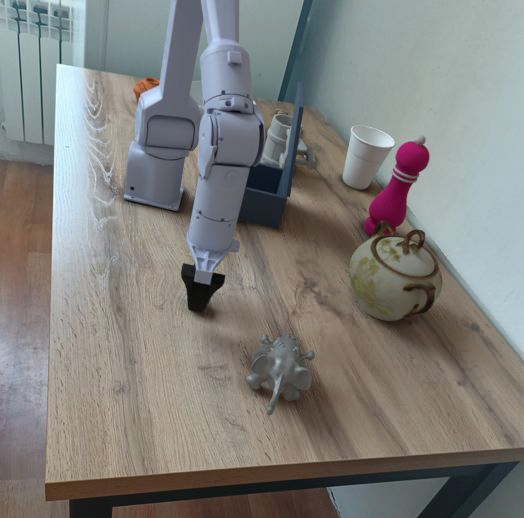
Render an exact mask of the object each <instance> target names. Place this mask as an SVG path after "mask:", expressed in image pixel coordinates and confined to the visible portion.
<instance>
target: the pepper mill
mask: <svg viewBox="0 0 524 518" xmlns="http://www.w3.org/2000/svg"><path fill="white" fill-rule="evenodd" d="M426 139H427V138H426V137H425V136H424V135H423V134H419V135H417V136H416V137H415V139H414V140H410V141H406V142H404V143H403V144H401V145H399V147H398V148H397V150H396V153H395V156H394V157H395V163H394V164H393V166H392V169H391V172H390V174H391V177H390V180H389V182H388V184H387V185H386V187H384V188H383V190H382V191H381V192H379V194H377V195H376V196H375V197H374V198H373V200H372V201H371V203H370V204H369V207H368V215H369V216H367V218H366V219H365V221H364V224H363V229H364V232H366V234H368V236H370V237H372V236H373V230H374V228H375V226H376V224H377V223H378V222H380V221H386V222H387V223H388V224H389V225H390V227H391V228H392V229H393V230H394V231H395V232H396V233H397V227H399V226H401V225H403V223H404V221H405V219H406V216H407V211H408V208H407V207H408V206H407V205H408V203H407V202H408V194H409V192H410V189H411V187H412V186H413V184H414V183H417V182H418V178H419V177H420V172H423V171H424V170H425V169H426V168H427V167H428V165H429V162H430V157H431V156H430V155H431V154H430V151H429V149H428V148H427V147H426V146H425V145H424V144H425V143H426V141H427V140H426ZM380 230H381V229H380ZM383 235H390V233H389V232H388V230H386V231H385V233H384V234H383Z"/></svg>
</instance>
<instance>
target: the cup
mask: <svg viewBox="0 0 524 518" xmlns="http://www.w3.org/2000/svg"><path fill="white" fill-rule="evenodd" d="M395 146H396V140H395V139H394V138H393V137H392V136H391V135H390V134H389V133H387V132H385V131H383V130H380V129H379V128H376V127H372V126H369V125H363V124H356V125H352V127H351V128H350V137H349V141H348V148H347V152H346V158H345V162H344V167H343V172H342V178H341V179H342V181H343V182H344V183H345V184H346V185H347V186H348V187H350V188H352V189H356V190H366V189H367V188H369V186H370V185H371V183H372V181H373V180H374V178H375V177H376V175H377V173H378V172H379V170H380V168H381V167H382V165H383V164H384V162H385V160H386V159H387V158H388V155H389V154H390V152H391V151H392V149H393V148H395Z"/></svg>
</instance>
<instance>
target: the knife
mask: <svg viewBox="0 0 524 518" xmlns="http://www.w3.org/2000/svg"><path fill="white" fill-rule="evenodd" d="M274 113H275V115H276V114H284V115H288V116H289V112H287V110H285V109H283V108H275V111H274ZM300 138H301V136H300ZM307 149H308V146H307V145H306V143H305V142H304V140H303V139H302V138H301V140H300V143H299V145H298V150H307ZM303 157H304V158H305V159H306V156H305V155H303Z"/></svg>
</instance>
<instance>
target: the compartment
mask: <svg viewBox="0 0 524 518" xmlns="http://www.w3.org/2000/svg"><path fill="white" fill-rule="evenodd" d="M287 202H288V197H286V169H284V168H280V167H276V166H272V165H268V164H264V163H261V162H260V163H259V164H258V165H257V166H255V167H253V166H252V165H251V166H250V170H249V175H248V179H247V183H246V187H245V191H244V195H243V199H242V203H241V207H240V211H239V215H238V219H237V221H242V222H245V223H250V224H254V225H259V226H262V227H263V226H264V227H266V228H272V229H276V230H279V228H280V224H281V222H282V219H283V215H284V212H285V209H286V205H287Z"/></svg>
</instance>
